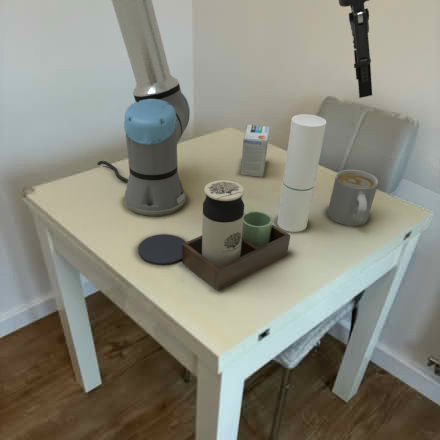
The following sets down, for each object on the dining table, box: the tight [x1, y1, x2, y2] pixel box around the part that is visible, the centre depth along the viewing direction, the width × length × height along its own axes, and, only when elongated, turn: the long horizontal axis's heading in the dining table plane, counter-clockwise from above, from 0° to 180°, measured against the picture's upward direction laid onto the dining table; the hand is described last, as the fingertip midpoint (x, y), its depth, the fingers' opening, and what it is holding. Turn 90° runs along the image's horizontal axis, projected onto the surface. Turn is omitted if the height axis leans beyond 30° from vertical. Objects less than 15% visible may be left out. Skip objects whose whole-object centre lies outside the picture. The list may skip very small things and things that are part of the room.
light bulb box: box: [240, 124, 270, 178], centre depth 130 cm, size 11×7×11 cm, turn 172°
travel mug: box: [201, 179, 245, 267], centre depth 90 cm, size 8×8×18 cm
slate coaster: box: [137, 233, 187, 266], centre depth 100 cm, size 11×11×1 cm
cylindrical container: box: [277, 113, 327, 233], centre depth 102 cm, size 7×7×25 cm
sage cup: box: [242, 210, 273, 248], centre depth 99 cm, size 6×6×8 cm
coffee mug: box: [327, 169, 379, 227], centre depth 110 cm, size 13×10×10 cm
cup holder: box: [181, 224, 291, 292], centre depth 97 cm, size 12×20×5 cm, turn 131°
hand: (363, 86), depth 105 cm, fingers open, 13 cm apart
